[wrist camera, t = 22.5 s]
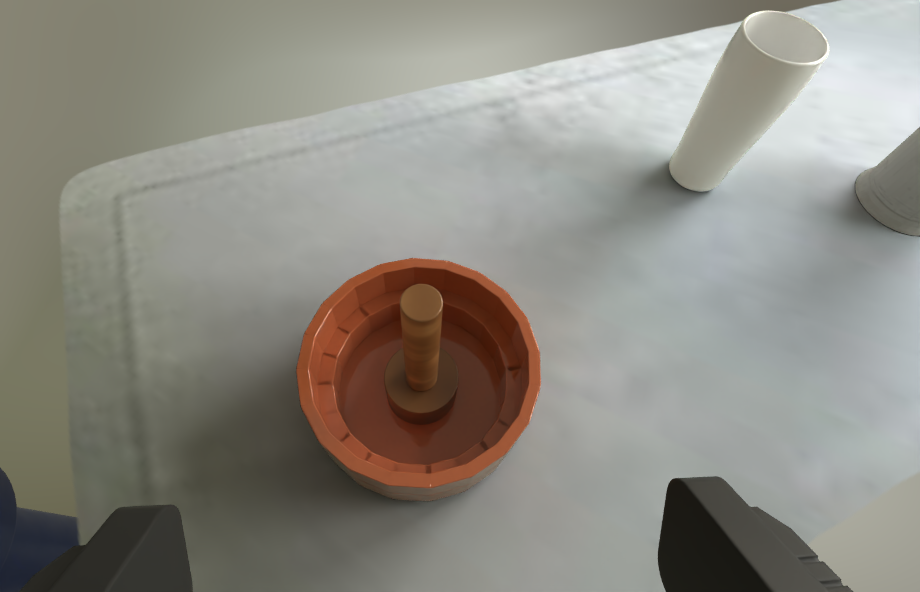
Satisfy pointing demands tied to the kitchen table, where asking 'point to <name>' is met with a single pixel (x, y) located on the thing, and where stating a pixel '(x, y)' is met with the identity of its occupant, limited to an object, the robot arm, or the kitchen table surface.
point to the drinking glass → (747, 94)
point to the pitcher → (894, 188)
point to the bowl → (363, 390)
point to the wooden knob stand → (421, 361)
